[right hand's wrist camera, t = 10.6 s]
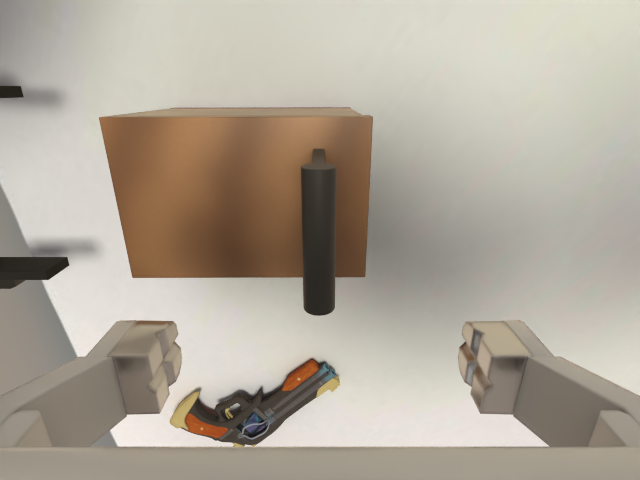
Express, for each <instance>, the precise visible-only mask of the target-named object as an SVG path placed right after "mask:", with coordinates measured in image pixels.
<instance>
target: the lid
mask: <svg viewBox="0 0 640 480" xmlns="http://www.w3.org/2000/svg"><path fill="white" fill-rule="evenodd" d="M99 120H100V125H101V129H102V134H103V139H104V144H105V148H106V153H107V158H108V163H109V168H110V172H111V177H112V182H113V187H114V191H115V196H116V201H117V206H118V211H119V215H120V220H121V225H122V230H123V234H124V239H125V244H126V249H127V254H128V258H129V263H130V268H131V273H132V277H133V278H215V277H303V296H304V309H305V311H306V312H307V313H309V314H312V315H318V316H320V315H326V314H329V313H331V312H332V311H333V310H334V308H335V277H365V269H366V248H367V227H368V206H369V185H370V165H371V144H372V123H373V117H372V116H370V115H307V116H106V117H99Z"/></svg>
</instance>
